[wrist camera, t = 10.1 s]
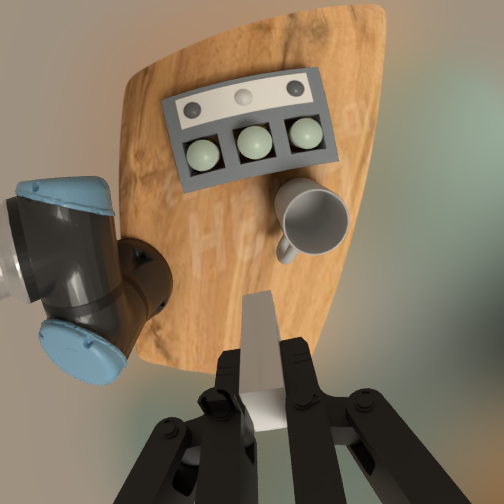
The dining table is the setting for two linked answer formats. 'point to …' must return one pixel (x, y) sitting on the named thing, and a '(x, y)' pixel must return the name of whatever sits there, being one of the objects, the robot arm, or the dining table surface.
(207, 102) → the card
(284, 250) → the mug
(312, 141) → the button
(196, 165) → the button
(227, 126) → the button board
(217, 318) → the dining table surface
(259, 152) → the button mid
